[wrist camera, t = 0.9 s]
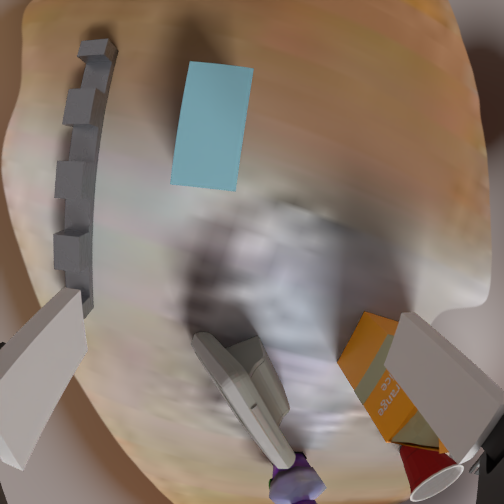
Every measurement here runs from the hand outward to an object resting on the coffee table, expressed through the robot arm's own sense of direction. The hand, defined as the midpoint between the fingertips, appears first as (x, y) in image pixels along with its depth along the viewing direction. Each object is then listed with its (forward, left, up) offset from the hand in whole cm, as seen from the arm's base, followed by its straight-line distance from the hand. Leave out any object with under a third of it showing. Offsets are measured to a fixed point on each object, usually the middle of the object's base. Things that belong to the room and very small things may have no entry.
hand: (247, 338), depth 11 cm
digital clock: (+17, +3, -20) cm, 27 cm away
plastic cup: (+36, +38, -20) cm, 56 cm away
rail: (-4, -16, -20) cm, 26 cm away
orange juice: (+12, +20, -20) cm, 31 cm away
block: (-9, -3, -20) cm, 22 cm away
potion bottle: (+35, +13, -20) cm, 42 cm away
